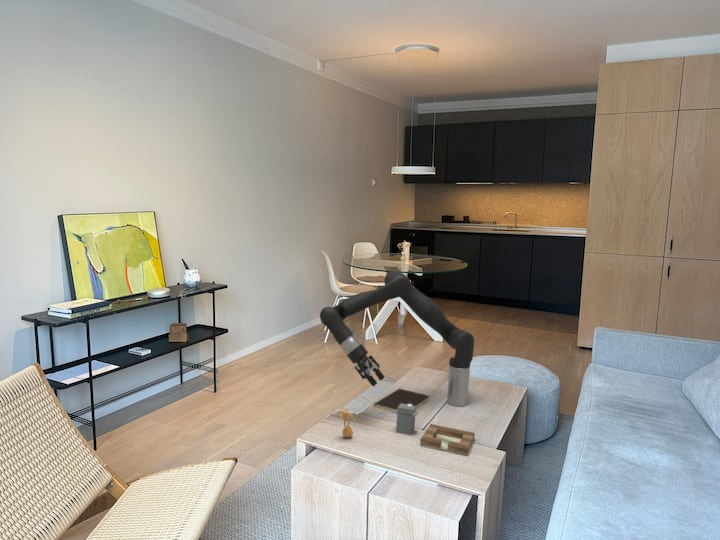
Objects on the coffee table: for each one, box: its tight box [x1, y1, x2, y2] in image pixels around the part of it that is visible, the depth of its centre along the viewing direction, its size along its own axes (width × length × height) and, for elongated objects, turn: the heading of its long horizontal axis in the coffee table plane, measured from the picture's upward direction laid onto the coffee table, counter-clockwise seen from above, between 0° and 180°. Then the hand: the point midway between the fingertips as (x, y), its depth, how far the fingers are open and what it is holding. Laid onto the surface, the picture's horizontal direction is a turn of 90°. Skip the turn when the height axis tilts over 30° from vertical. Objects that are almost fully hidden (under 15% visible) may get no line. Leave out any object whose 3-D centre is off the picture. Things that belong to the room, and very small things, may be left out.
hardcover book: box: [373, 388, 430, 413], centre depth 227 cm, size 16×23×2 cm
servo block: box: [394, 403, 419, 436], centre depth 197 cm, size 4×8×11 cm, turn 68°
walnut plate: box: [419, 423, 476, 457], centre depth 190 cm, size 15×17×3 cm
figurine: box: [336, 407, 357, 438], centre depth 189 cm, size 8×6×12 cm
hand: (379, 381), depth 201 cm, fingers open, 8 cm apart
